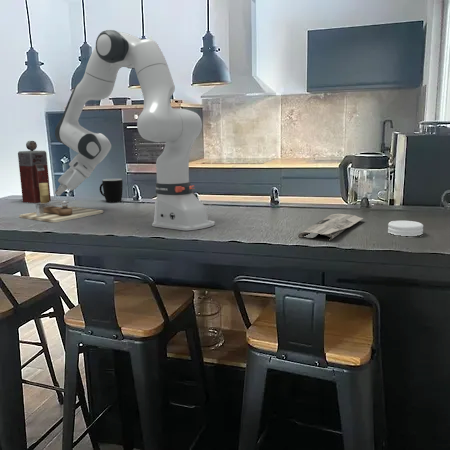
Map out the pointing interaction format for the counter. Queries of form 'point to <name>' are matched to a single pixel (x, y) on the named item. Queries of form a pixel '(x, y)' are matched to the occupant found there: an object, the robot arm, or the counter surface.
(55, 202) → the keeper
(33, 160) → the toy vending machine
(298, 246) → the counter surface
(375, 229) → the counter surface
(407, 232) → the white round disc
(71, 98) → the robot arm
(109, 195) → the mug
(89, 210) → the pivot board
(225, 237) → the counter surface
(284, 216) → the counter surface
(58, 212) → the tan l-shaped piece
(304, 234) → the newspaper
